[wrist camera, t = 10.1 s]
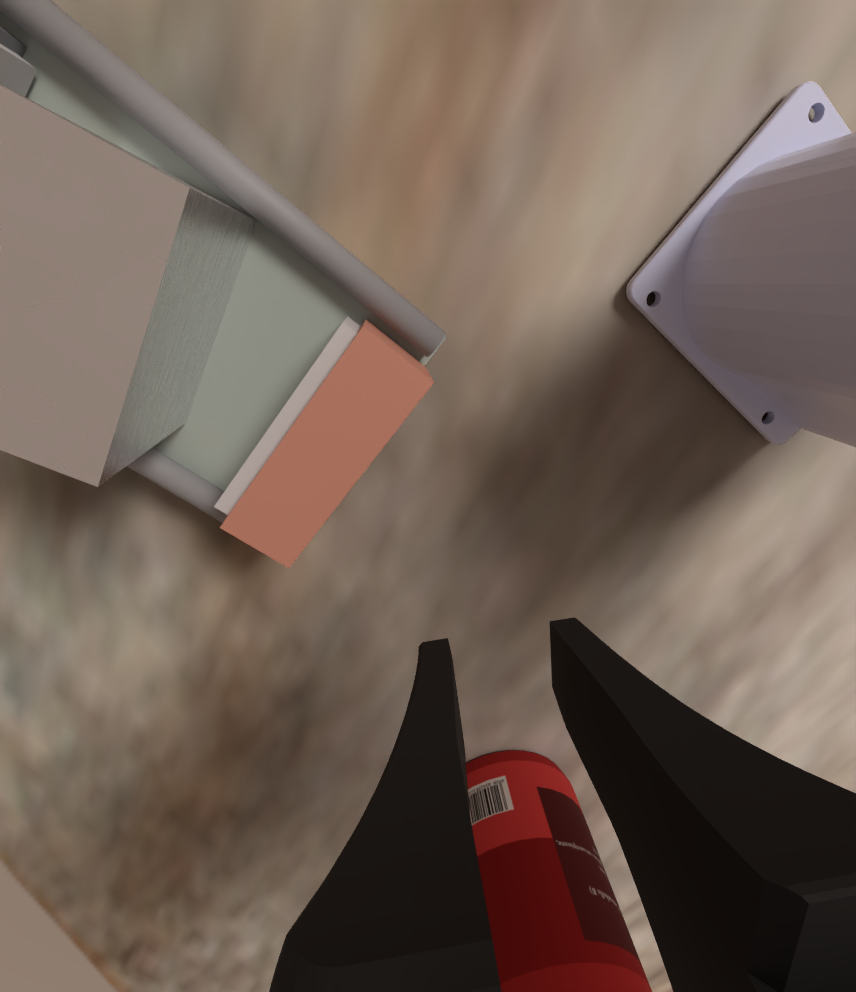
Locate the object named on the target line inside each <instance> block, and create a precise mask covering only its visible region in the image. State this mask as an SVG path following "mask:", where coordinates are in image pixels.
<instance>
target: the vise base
mask: <svg viewBox="0 0 856 992" xmlns="http://www.w3.org/2000/svg"><path fill="white" fill-rule="evenodd" d="M0 84H1V85H3V86H5V87H7V88H9V89H11V90H13V91H15V92H16V93H18V94H20V95H22V96H24V97H26V98H28V99H30V100H32V101H34V102H36V103H38V104H39V105H41V106H43V107H45V108H47V109H49V110H51V111H53V112H55V113H57V114H59V115H61V116H62V117H64V118H66V119H68V120H70V121H72V122H74V123H76V124H78V125H80V126H82V127H84V128H85V129H87V130H89V131H91V132H93V133H95V134H97V135H99V136H101V137H103V138H105V139H107V140H108V141H110V142H112V143H114V144H116V145H118V146H120V147H122V148H124V149H125V150H127V151H129V152H131V153H133V154H135V155H136V156H138V157H140V158H142V159H144V160H146V161H147V162H149V163H151V164H153V165H155V166H157V167H158V168H160V169H162V170H164V171H166V172H168V173H169V174H171V175H173V176H175V177H177V178H179V179H180V180H182V181H184V182H186V183H188V184H190V185H191V186H193V187H195V188H197V189H199V190H201V191H202V192H204V193H206V194H208V195H210V196H212V197H213V198H215V199H217V200H219V201H221V202H223V203H224V204H226V205H228V206H230V207H232V208H234V209H235V210H237V211H239V212H241V213H243V214H245V215H246V216H248V217H250V218H252V219H254V220H255V221H257V223H256V226H255V229H254V231H253V234H252V237H251V240H250V243H249V246H248V248H247V251H246V254H245V257H244V260H243V262H242V265H241V268H240V271H239V274H238V277H237V279H236V282H235V285H234V288H233V291H232V293H231V296H230V299H229V302H228V305H227V308H226V310H225V313H224V316H223V319H222V322H221V325H220V327H219V330H218V333H217V336H216V339H215V341H214V344H213V347H212V350H211V353H210V356H209V358H208V361H207V364H206V367H205V370H204V372H203V375H202V378H201V381H200V384H199V387H198V389H197V392H196V395H195V398H194V401H193V403H192V406H191V409H190V412H189V415H188V418H187V420H186V423H185V424H184V425H182V426H181V427H179V428H178V429H177V430H175V431H174V432H173V433H171V434H170V435H168V436H167V437H166V438H164V439H163V440H162V441H160V442H159V443H157V444H156V445H155V446H153V447H152V448H151V449H149V450H148V451H147V452H145V453H144V454H142V455H141V456H140V457H138V458H137V459H136V460H134V461H133V462H131V463H130V464H129V465H127V466H126V467H128V468H130V469H132V470H133V471H135V472H137V473H138V474H140V475H142V476H143V477H145V478H147V479H149V480H150V481H152V482H154V483H155V484H157V485H159V486H160V487H162V488H164V489H166V490H167V491H169V492H171V493H172V494H174V495H176V496H177V497H179V498H181V499H183V500H184V501H186V502H188V503H189V504H191V505H193V506H194V507H196V508H198V509H200V510H201V511H203V512H205V513H206V514H208V515H210V516H211V517H213V518H215V519H217V520H218V521H220V522H222V523H223V522H224V520H225V519H226V517H227V516H228V515H227V514H225V513H223V512H222V511H220V510H218V509H217V508H215V507H214V506H215V504H216V503H217V501H218V500H219V499H220V497H221V496H222V494H223V493H224V491H225V490H226V489H227V487H228V486H229V484H230V483H231V481H232V480H233V479H234V477H235V476H236V474H237V473H238V471H239V470H240V469H241V467H242V466H243V464H244V463H245V461H246V460H247V459H248V457H249V456H250V454H251V453H252V451H253V450H254V449H255V447H256V446H257V444H258V443H259V441H260V440H261V439H262V437H263V436H264V434H265V433H266V431H267V430H268V428H269V427H270V426H271V424H272V423H273V421H274V420H275V418H276V417H277V416H278V414H279V413H280V411H281V410H282V408H283V407H284V406H285V404H286V403H287V401H288V400H289V398H290V397H291V396H292V394H293V393H294V391H295V390H296V388H297V387H298V386H299V384H300V383H301V381H302V380H303V378H304V377H305V376H306V374H307V373H308V371H309V370H310V368H311V367H312V365H313V364H314V363H315V361H316V360H317V358H318V357H319V355H320V354H321V353H322V351H323V350H324V348H325V347H326V345H327V344H328V343H329V341H330V340H331V338H332V337H333V335H334V334H335V333H336V331H337V330H338V328H339V327H340V325H341V324H342V323H343V321H344V320H345V319H346V318H347V317H349V318H350V319H352V320H353V321H354V322H356V323H357V324H358V325H359V326H361V325H362V323H363V322H364V321H365V319H367V320H368V321H369V322H371V323H372V324H373V325H374V326H376V327H377V328H378V329H379V330H381V331H382V332H383V333H384V334H386V335H387V336H388V337H389V338H391V339H392V340H393V341H394V342H396V343H397V344H398V345H399V346H401V347H402V348H403V349H404V350H406V351H407V352H408V353H409V354H411V355H412V356H413V357H414V358H416V359H417V360H418V361H419V362H421V363H422V364H423V365H424V366H425V365H426V364H427V362H428V361H429V360H430V358H431V357H432V356H433V354H434V353H435V352H436V351H437V349H438V348H439V347H440V345H441V344H442V343H443V341H444V340H445V339H446V338H447V337H446V336H445V335H446V332H445V331H444V330H442V329H441V328H440V327H439V326H438V325H436V324H435V323H434V322H433V321H432V320H430V319H429V318H428V317H427V316H426V315H425V314H423V313H422V312H421V311H420V310H419V309H417V308H416V307H415V306H414V305H413V304H411V303H410V302H409V301H408V300H407V299H406V298H404V297H403V296H402V295H401V294H400V293H398V292H397V291H396V290H395V289H394V288H392V287H391V286H390V285H389V284H388V283H387V282H385V281H384V280H383V279H382V278H381V277H379V276H378V275H377V274H376V273H375V272H373V271H372V270H371V269H370V268H369V267H367V266H366V265H365V264H364V263H363V262H362V261H360V260H359V259H358V258H357V257H356V256H354V255H353V254H352V253H351V252H350V251H348V250H347V249H346V248H345V247H344V246H343V245H341V244H340V243H339V242H338V241H337V240H335V239H334V238H333V237H332V236H331V235H329V234H328V233H327V232H326V231H325V230H324V229H322V228H321V227H320V226H319V225H318V224H316V223H315V222H314V221H313V220H312V219H310V218H309V217H308V216H307V215H306V214H305V213H303V212H302V211H301V210H300V209H299V208H297V207H296V206H295V205H294V204H293V203H291V202H290V201H289V200H288V199H287V198H286V197H284V196H283V195H282V194H281V193H280V192H278V191H277V190H276V189H275V188H274V187H272V186H271V185H270V184H269V183H268V182H266V181H265V180H264V179H263V178H262V177H261V176H259V175H258V174H257V173H256V172H255V171H253V170H252V169H251V168H250V167H249V166H247V165H246V164H245V163H244V162H243V161H242V160H240V159H239V158H238V157H237V156H236V155H234V154H233V153H232V152H231V151H230V150H228V149H227V148H226V147H225V146H224V145H223V144H221V143H220V142H219V141H218V140H217V139H215V138H214V137H213V136H212V135H211V134H209V133H208V132H207V131H206V130H205V129H204V128H202V127H201V126H200V125H199V124H198V123H196V122H195V121H194V120H193V119H192V118H190V117H189V116H188V115H187V114H186V113H184V112H183V111H182V110H181V109H180V108H179V107H177V106H176V105H175V104H174V103H173V102H171V101H170V100H169V99H168V98H167V97H165V96H164V95H163V94H162V93H161V92H160V91H158V90H157V89H156V88H155V87H154V86H152V85H151V84H150V83H149V82H148V81H146V80H145V79H144V78H143V77H142V76H141V75H139V74H138V73H137V72H136V71H135V70H133V69H132V68H131V67H130V66H129V65H127V64H126V63H125V62H124V61H123V60H122V59H120V58H119V57H118V56H117V55H116V54H114V53H113V52H112V51H111V50H110V49H108V48H107V47H106V46H105V45H104V44H102V43H101V42H100V41H99V40H98V39H97V38H95V37H94V36H93V35H92V34H91V33H89V32H88V31H87V30H86V29H85V28H83V27H82V26H81V25H80V24H79V23H78V22H76V21H75V20H74V19H73V18H72V17H70V16H69V15H68V14H67V13H66V12H64V11H63V10H62V9H61V8H60V7H59V6H57V5H56V4H55V3H54V2H53V1H51V0H0Z"/></svg>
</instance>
